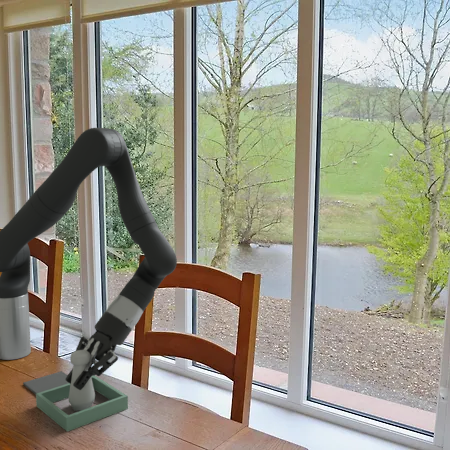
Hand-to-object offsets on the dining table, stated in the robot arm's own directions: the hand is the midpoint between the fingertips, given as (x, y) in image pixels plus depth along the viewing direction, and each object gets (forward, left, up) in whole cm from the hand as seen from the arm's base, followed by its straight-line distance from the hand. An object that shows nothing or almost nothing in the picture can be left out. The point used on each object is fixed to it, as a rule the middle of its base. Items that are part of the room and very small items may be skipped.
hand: (72, 385), depth 121 cm
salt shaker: (0, +2, -6) cm, 6 cm away
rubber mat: (-15, +2, -6) cm, 16 cm away
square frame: (0, +2, -6) cm, 6 cm away
